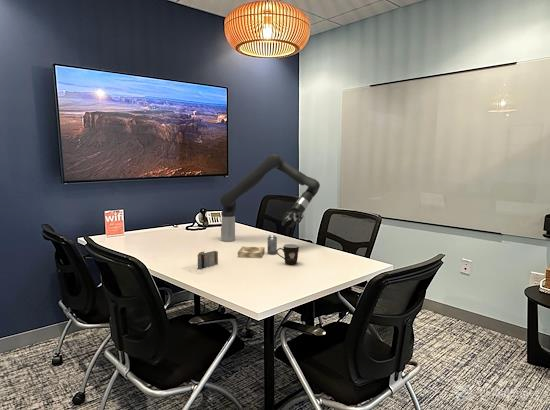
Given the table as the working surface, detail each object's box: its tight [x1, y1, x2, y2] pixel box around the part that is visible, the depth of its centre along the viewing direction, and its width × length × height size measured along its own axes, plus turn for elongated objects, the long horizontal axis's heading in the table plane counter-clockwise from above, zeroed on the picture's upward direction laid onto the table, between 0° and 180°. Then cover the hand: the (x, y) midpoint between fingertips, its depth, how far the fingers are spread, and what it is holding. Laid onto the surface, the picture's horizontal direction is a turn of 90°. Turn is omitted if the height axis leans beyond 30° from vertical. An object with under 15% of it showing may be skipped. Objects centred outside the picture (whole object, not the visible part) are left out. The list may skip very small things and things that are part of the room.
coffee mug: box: [276, 243, 300, 266], centre depth 203 cm, size 12×9×10 cm
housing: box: [267, 234, 278, 256], centre depth 223 cm, size 6×6×11 cm
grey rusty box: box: [197, 250, 219, 270], centre depth 196 cm, size 11×3×10 cm, turn 138°
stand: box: [237, 246, 265, 259], centre depth 221 cm, size 14×14×3 cm
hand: (286, 225), depth 229 cm, fingers open, 8 cm apart
